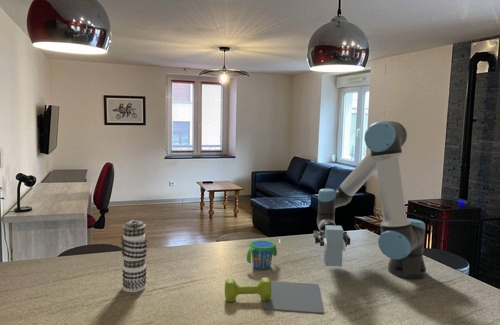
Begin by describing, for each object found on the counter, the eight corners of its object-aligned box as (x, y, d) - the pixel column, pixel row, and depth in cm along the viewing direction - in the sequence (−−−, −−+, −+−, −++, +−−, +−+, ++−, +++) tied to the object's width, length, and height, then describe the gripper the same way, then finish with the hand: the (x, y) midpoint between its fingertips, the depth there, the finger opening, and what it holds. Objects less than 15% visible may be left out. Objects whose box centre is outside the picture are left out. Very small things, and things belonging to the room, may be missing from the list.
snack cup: (269, 259, 174) (269, 237, 173) (283, 267, 165) (284, 244, 164) (240, 266, 166) (240, 243, 164) (253, 274, 157) (254, 250, 156)
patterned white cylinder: (120, 283, 145) (120, 219, 142) (146, 280, 149) (145, 217, 146) (122, 294, 137) (121, 226, 134) (148, 290, 140) (148, 224, 137)
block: (339, 260, 149) (340, 225, 147) (341, 266, 143) (343, 230, 141) (324, 260, 149) (325, 225, 148) (325, 265, 143) (326, 229, 142)
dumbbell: (269, 293, 139) (269, 274, 139) (272, 303, 132) (272, 283, 131) (224, 294, 138) (224, 275, 138) (224, 305, 131) (224, 285, 130)
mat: (318, 285, 149) (318, 284, 149) (324, 313, 127) (324, 312, 127) (267, 281, 150) (267, 280, 150) (264, 309, 129) (264, 308, 129)
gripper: (350, 239, 163) (361, 258, 140) (305, 237, 164) (308, 256, 141) (351, 221, 162) (362, 238, 139) (306, 220, 164) (309, 236, 141)
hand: (335, 247), depth 140 cm, fingers closed on block, 6 cm apart
